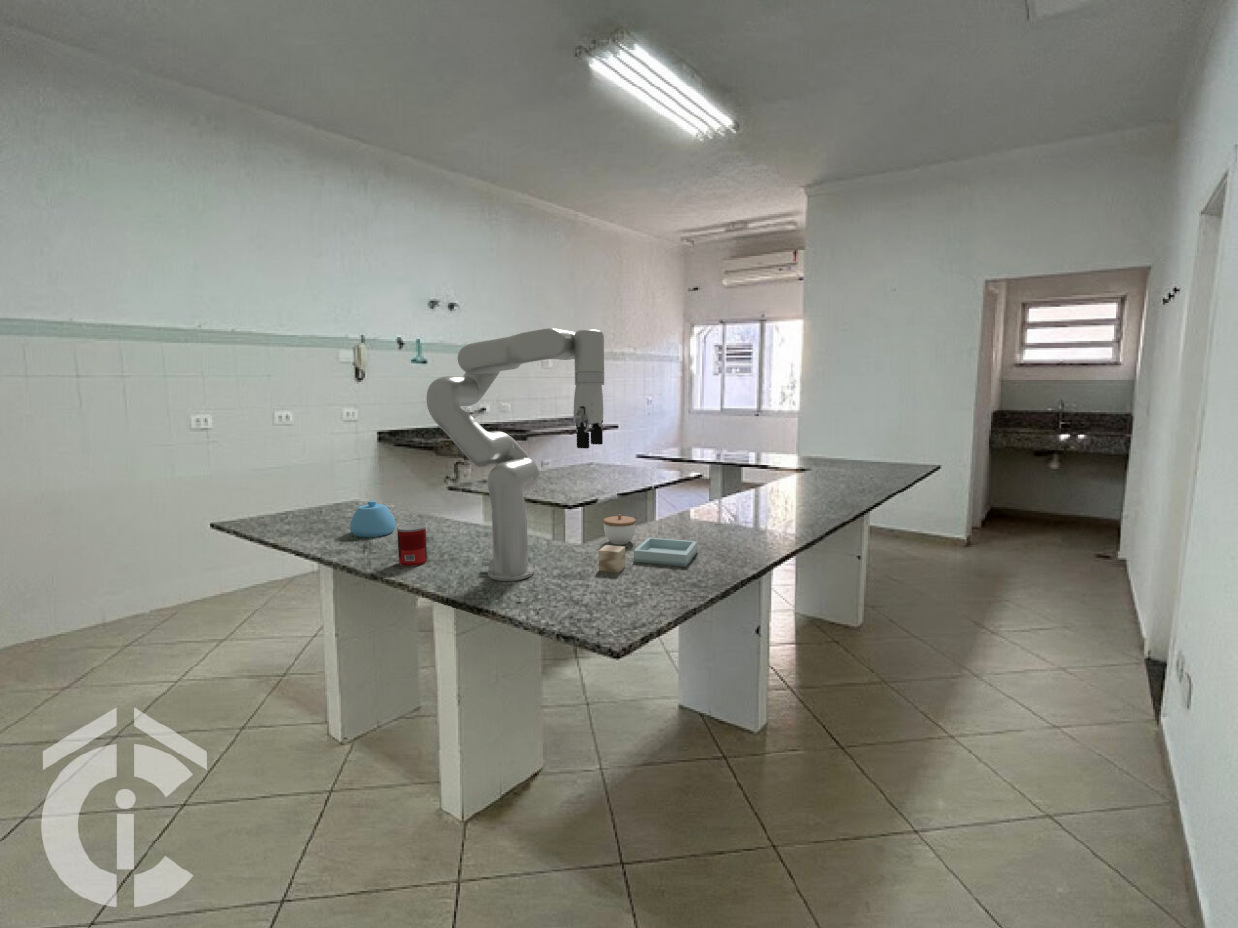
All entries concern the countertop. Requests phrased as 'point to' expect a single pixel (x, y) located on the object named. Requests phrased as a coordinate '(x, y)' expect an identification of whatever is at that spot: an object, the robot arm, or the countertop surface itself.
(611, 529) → the lidded jar
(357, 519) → the sugar bowl
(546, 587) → the countertop surface
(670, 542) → the teal tray
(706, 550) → the countertop surface
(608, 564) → the birch block
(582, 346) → the robot arm
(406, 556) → the canned food
